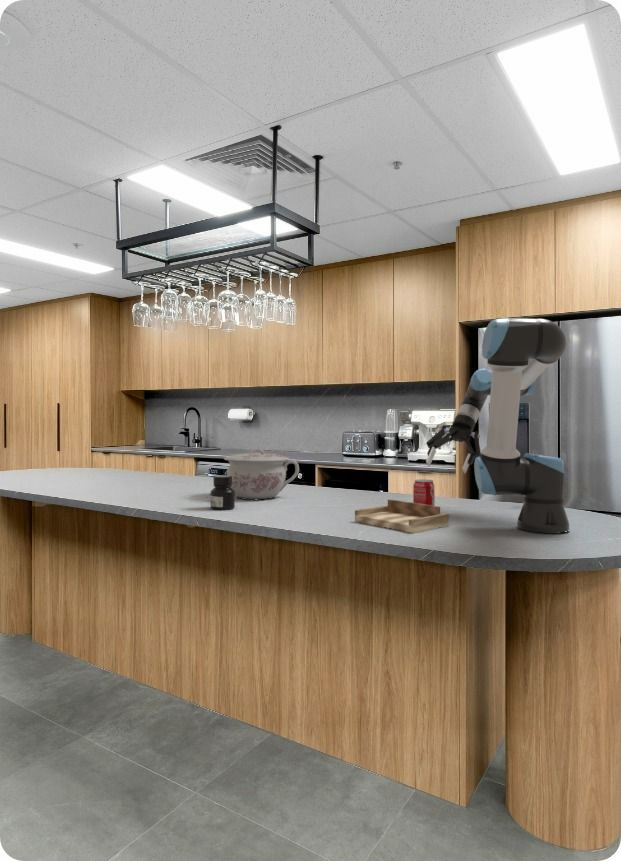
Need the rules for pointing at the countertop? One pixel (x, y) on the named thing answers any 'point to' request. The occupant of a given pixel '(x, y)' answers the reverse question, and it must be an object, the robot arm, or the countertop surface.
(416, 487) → the soda can
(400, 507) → the wooden tray
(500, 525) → the countertop surface
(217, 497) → the ink bottle
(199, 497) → the countertop surface
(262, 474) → the chamber pot
